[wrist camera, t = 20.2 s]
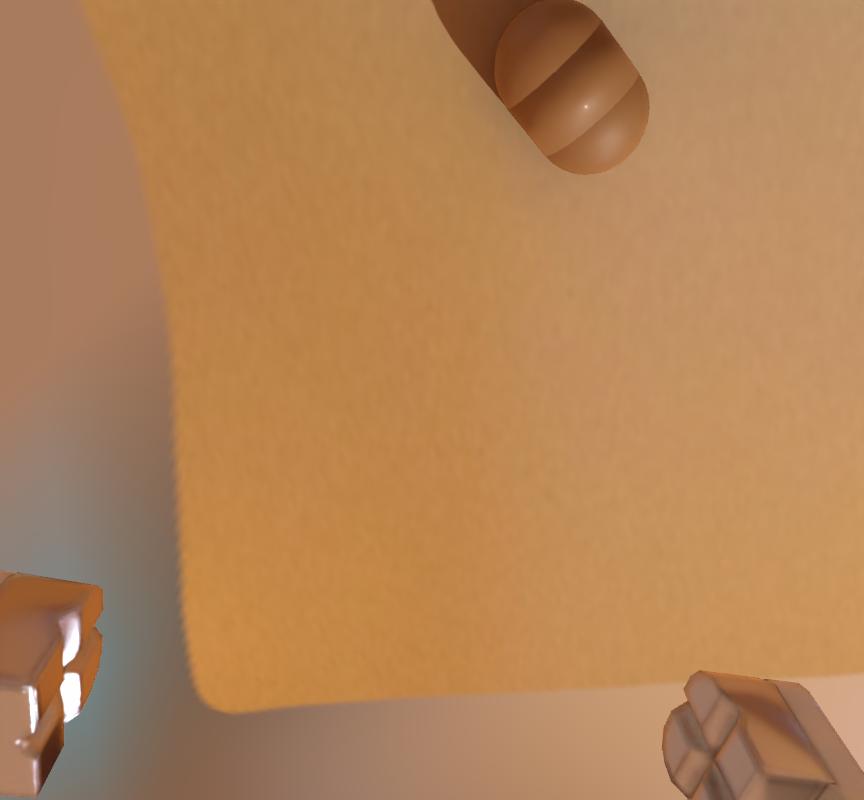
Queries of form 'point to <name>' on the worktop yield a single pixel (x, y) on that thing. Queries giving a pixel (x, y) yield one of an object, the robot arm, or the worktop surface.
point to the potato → (571, 86)
